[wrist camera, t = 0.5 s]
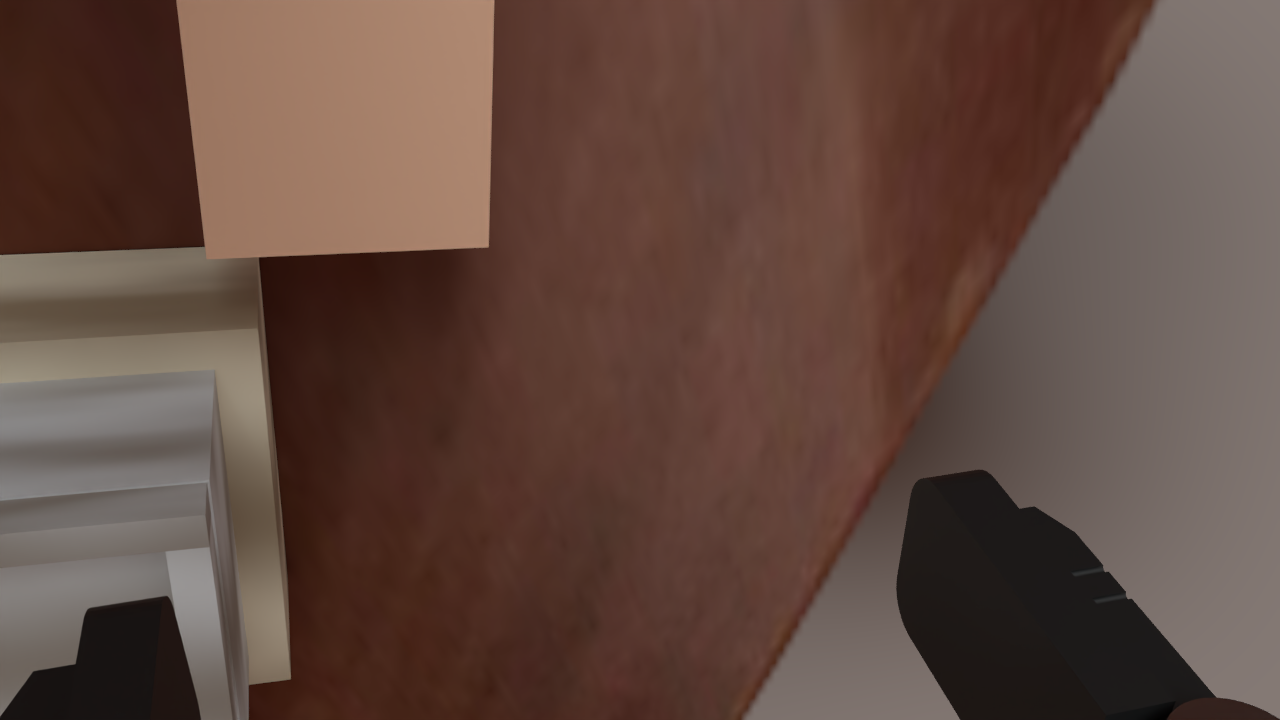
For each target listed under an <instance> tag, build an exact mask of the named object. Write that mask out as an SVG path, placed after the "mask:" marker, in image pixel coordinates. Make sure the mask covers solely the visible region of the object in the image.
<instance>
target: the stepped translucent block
mask: <svg viewBox="0 0 1280 720" xmlns="http://www.w3.org/2000/svg"><path fill="white" fill-rule="evenodd" d="M161 596H168V597H169V598H170V600H171V602H172V605H173V608H174V611H175V615H176V619H177V623H178V627H179V630H180V634H181V638H182V642H183V646H184V650H185V654H186V657H187V661H188V665H189V669H190V673H191V677H192V680H193V684H194V688H195V692H196V696H197V700H198V704H199V710H200V716H201V720H249V685H252V684H259V683H267V682H275V681H283V680H290V679H291V663H290V633H289V603H288V576H287V565H286V554H285V543H284V532H283V521H282V510H281V499H280V488H279V477H278V466H277V455H276V444H275V433H274V422H273V410H272V399H271V388H270V377H269V366H268V355H267V344H266V333H265V322H264V311H263V300H262V289H261V278H260V267H259V257H251V258H228V259H206V251H205V247H191V248H166V249H141V250H116V251H91V252H66V253H41V254H16V255H0V716H1V715H2V713H3V712H4V711H5V709H6V708H7V706H8V705H9V704H10V702H11V701H12V700H13V698H14V697H15V696H16V694H17V693H18V691H19V690H20V689H21V687H22V686H23V685H24V683H25V682H26V681H27V679H28V678H29V676H30V675H31V674H32V672H33V671H37V670H43V669H49V668H55V667H61V666H67V665H73V664H76V659H77V653H78V647H79V642H80V636H81V630H82V625H83V620H84V616H85V613H86V611H87V609H89V608H91V607H97V606H104V605H110V604H116V603H123V602H129V601H135V600H142V599H148V598H154V597H161Z"/></svg>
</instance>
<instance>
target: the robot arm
mask: <svg viewBox="0 0 1280 720" xmlns="http://www.w3.org/2000/svg"><path fill="white" fill-rule="evenodd" d="M896 589H897V600H898V606H899V610H900V614H901V618H902V621H903V623H904V626H905V628H906V631H907V633H908V635H909V636H910V638H911V640H912V641H913V643H914V644H915V646H916V648H917V650H918V651H919V653H920V654H921V656H922V658H923V659H924V661H925V663H926V664H927V666H928V668H929V669H930V671H931V672H932V674H933V675H934V677H935V679H936V681H937V682H938V684H939V685H940V687H941V689H942V690H943V692H944V694H945V695H946V697H947V698H948V700H949V701H950V703H951V705H952V706H953V708H954V710H955V711H956V713H957V715H958V717H959V718H960V720H1280V719H1279V718H1277V717H1275V716H1274V715H1272V714H1270V713H1268V712H1266V711H1264V710H1262V709H1260V708H1258V707H1255V706H1253V705H1250V704H1247V703H1244V702H1240V701H1236V700H1231V699H1223V698H1217V697H1216V696H1215V695H1214V694H1213V693H1212V692H1211V691H1210V690H1209V689H1208V687H1207V686H1206V685H1205V684H1204V683H1203V682H1202V681H1201V679H1200V678H1199V677H1198V676H1197V675H1196V673H1195V672H1194V671H1193V670H1192V669H1191V668H1190V666H1189V665H1188V664H1187V663H1186V662H1185V660H1184V659H1183V658H1182V657H1181V656H1180V655H1179V653H1178V652H1177V651H1176V650H1175V649H1174V648H1173V646H1171V644H1170V643H1169V642H1168V641H1167V639H1166V638H1165V637H1164V636H1163V635H1162V634H1161V632H1160V631H1159V630H1158V629H1157V628H1156V627H1155V626H1154V624H1152V622H1151V621H1150V620H1149V618H1148V617H1147V616H1146V615H1145V614H1144V612H1143V611H1142V610H1141V609H1140V608H1139V607H1138V606H1137V604H1136V603H1135V602H1134V601H1133V600H1132V599H1127V597H1126V591H1125V590H1124V589H1123V588H1122V587H1121V586H1120V584H1119V583H1118V582H1117V581H1116V580H1115V579H1114V578H1113V576H1112V575H1111V574H1110V573H1109V572H1104V570H1103V565H1102V563H1101V562H1100V561H1099V560H1098V559H1097V558H1096V556H1095V555H1094V554H1093V553H1092V552H1091V550H1090V549H1089V548H1088V547H1087V546H1086V545H1085V544H1084V543H1083V541H1082V540H1081V539H1080V538H1079V536H1078V535H1077V534H1076V533H1075V532H1074V531H1072V530H1070V529H1069V528H1067V527H1065V526H1064V525H1063V524H1061V523H1059V522H1058V521H1056V520H1055V519H1053V518H1052V517H1050V516H1048V515H1047V514H1045V513H1044V512H1042V511H1041V510H1039V509H1037V508H1036V507H1028V508H1022V509H1019V508H1018V507H1017V505H1016V504H1015V503H1014V502H1013V501H1012V499H1011V498H1010V497H1009V496H1008V494H1007V493H1006V492H1005V491H1004V489H1003V488H1002V487H1001V486H1000V485H999V483H998V482H997V481H996V480H995V479H994V477H993V476H992V475H991V474H989V473H988V472H987V471H984V470H974V471H967V472H961V473H955V474H948V475H942V476H936V477H929V478H923V479H920V480H918V481H917V482H916V483H915V485H914V487H913V489H912V493H911V497H910V503H909V509H908V515H907V521H906V527H905V533H904V539H903V545H902V551H901V557H900V563H899V569H898V575H897V588H896ZM0 720H201V716H200V710H199V704H198V700H197V696H196V692H195V688H194V684H193V680H192V677H191V673H190V669H189V665H188V661H187V657H186V654H185V650H184V646H183V642H182V638H181V634H180V630H179V627H178V623H177V619H176V615H175V611H174V608H173V605H172V602H171V600H170V598H169V597H168V596H161V597H154V598H148V599H142V600H135V601H129V602H123V603H116V604H110V605H104V606H97V607H91V608H89V609H87V611H86V613H85V616H84V620H83V625H82V630H81V636H80V642H79V647H78V653H77V659H76V664H73V665H67V666H61V667H55V668H49V669H43V670H37V671H33V672H32V674H31V675H30V676H29V678H28V679H27V681H26V682H25V683H24V685H23V686H22V687H21V689H20V690H19V691H18V693H17V694H16V696H15V697H14V698H13V700H12V701H11V702H10V704H9V705H8V706H7V708H6V709H5V711H4V712H3V713H2V715H1V716H0Z"/></svg>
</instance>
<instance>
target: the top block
mask: <svg viewBox="0 0 1280 720" xmlns="http://www.w3.org/2000/svg"><path fill="white" fill-rule="evenodd" d="M176 1H177V10H178V18H179V27H180V36H181V44H182V53H183V61H184V70H185V79H186V87H187V96H188V104H189V113H190V122H191V130H192V139H193V147H194V156H195V165H196V173H197V182H198V190H199V199H200V208H201V216H202V225H203V233H204V242H205V251H206V259H228V258H251V257H275V256H298V255H321V254H345V253H368V252H392V251H415V250H439V249H462V248H486V247H489V214H490V170H491V126H492V82H493V37H494V0H176Z"/></svg>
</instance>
